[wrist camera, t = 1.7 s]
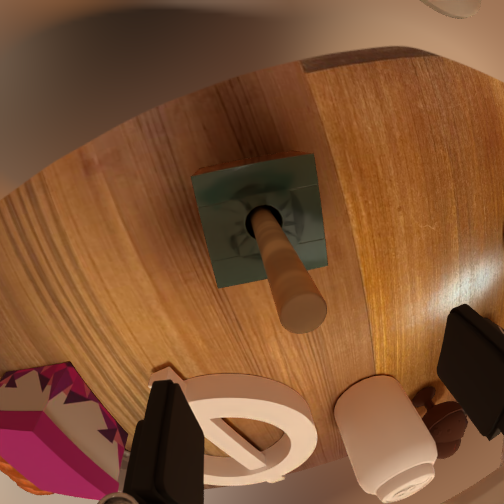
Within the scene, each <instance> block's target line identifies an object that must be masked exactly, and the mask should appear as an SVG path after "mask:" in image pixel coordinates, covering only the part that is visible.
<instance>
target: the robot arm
mask: <svg viewBox="0 0 504 504" xmlns="http://www.w3.org/2000/svg"><path fill="white" fill-rule="evenodd" d="M437 374H438V376H439V378H440V379H441V381H442V382H443V383H444V385H445V386H446V387H447V388H448V390H449V391H450V392H451V394H452V395H453V396H454V398H455V399H456V400H457V402H458V403H459V404H460V406H461V407H462V408H463V410H464V411H465V412H466V414H467V415H468V417H469V418H470V419H471V421H472V422H473V424H474V425H475V426H476V428H477V429H478V430H479V432H480V433H481V434H482V435H483V436H486V437H487V438H488V440H489V441H490V440H491V439H493V438H494V437H496V436H497V435H499V434H500V432H502V434H503V435H504V335H503V334H501V333H500V332H499V331H498V330H497V329H496V328H495V327H493V326H492V325H491V324H490V323H489V322H488V321H486V320H485V319H484V318H483V317H482V316H481V315H479V314H478V313H477V312H476V311H475V310H473V309H472V308H471V307H470V306H469V305H467V304H463V305H460V306H458V307H455V308H453V309H452V310H451V311H450V314H449V315H448V318H447V323H446V329H445V334H444V339H443V344H442V349H441V353H440V358H439V362H438V366H437ZM97 504H204V433H203V431H202V429H201V427H200V425H199V423H198V421H197V419H196V417H195V415H194V413H193V411H192V409H191V408H190V406H189V404H188V402H187V400H186V397H185V395H184V393H183V391H182V389H181V387H180V385H179V384H178V383H173V381H172V380H171V379H168V380H159V381H154V382H153V384H152V387H151V391H150V396H149V400H148V404H147V409H146V413H145V418H144V420H141V421H139V422H138V423H137V426H136V430H135V434H134V438H133V443H132V447H131V452H130V457H129V461H128V466H127V471H126V476H125V481H124V487H123V492H114V493H110V494H108V495H105V496H104V497H103V498H101V499H100V501H99V502H98V503H97ZM441 504H504V439H503V448H502V456H501V463H500V467H499V468H498V469H497V470H495V471H494V472H492V473H491V474H489V475H488V476H486V477H485V478H483V479H482V480H480V481H479V482H477V483H476V484H474V485H473V486H471V487H469V488H468V489H466V490H465V491H463V492H461V493H459V494H458V495H456V496H454V497H452V498H451V499H449V500H447V501H445V502H443V503H441Z"/></svg>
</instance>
